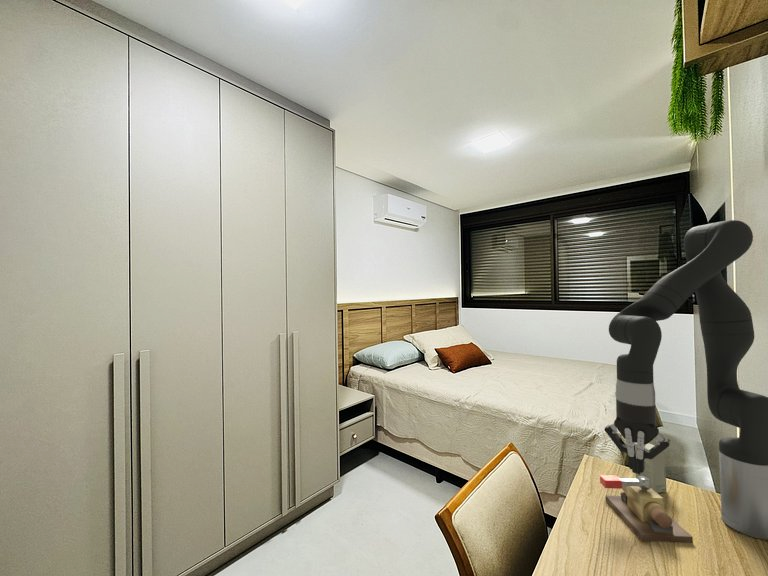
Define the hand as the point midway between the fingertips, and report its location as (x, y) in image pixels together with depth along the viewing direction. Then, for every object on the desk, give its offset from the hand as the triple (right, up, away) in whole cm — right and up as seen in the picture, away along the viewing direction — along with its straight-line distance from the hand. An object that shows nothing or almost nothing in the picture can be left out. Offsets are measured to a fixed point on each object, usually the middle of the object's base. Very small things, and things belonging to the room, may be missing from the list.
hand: (636, 472), depth 79 cm
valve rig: (+7, -16, +6) cm, 18 cm away
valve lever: (+2, -7, +6) cm, 10 cm away
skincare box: (+19, -16, +20) cm, 31 cm away
